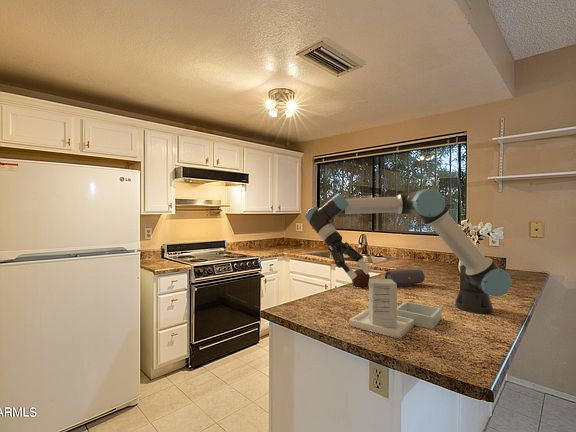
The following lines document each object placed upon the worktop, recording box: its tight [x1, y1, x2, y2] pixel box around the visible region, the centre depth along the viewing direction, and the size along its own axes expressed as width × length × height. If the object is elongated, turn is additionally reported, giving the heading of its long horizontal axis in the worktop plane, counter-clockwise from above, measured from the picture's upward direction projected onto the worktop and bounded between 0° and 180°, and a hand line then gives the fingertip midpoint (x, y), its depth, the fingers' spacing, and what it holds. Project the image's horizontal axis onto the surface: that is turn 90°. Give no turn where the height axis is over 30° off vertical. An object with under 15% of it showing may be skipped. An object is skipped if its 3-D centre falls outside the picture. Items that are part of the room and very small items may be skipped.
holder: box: [397, 301, 443, 330], centre depth 129 cm, size 15×15×4 cm
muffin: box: [351, 268, 371, 289], centre depth 186 cm, size 12×11×10 cm
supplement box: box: [368, 278, 398, 328], centre depth 121 cm, size 10×9×17 cm
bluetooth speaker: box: [384, 268, 425, 287], centre depth 189 cm, size 23×9×10 cm, turn 105°
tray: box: [348, 308, 415, 340], centre depth 121 cm, size 20×17×2 cm
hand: (362, 275), depth 126 cm, fingers open, 13 cm apart
